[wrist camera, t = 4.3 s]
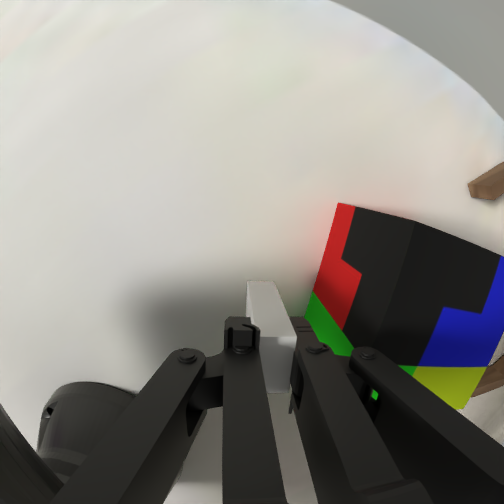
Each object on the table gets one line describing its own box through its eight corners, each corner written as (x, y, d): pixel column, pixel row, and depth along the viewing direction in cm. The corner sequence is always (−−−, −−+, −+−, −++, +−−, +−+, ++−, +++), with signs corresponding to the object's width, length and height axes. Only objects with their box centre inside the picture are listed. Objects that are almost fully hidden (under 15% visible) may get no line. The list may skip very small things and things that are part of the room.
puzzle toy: (439, 236, 22) (526, 267, 13) (401, 343, 24) (463, 408, 15) (337, 202, 21) (414, 221, 11) (299, 329, 23) (338, 415, 13)
